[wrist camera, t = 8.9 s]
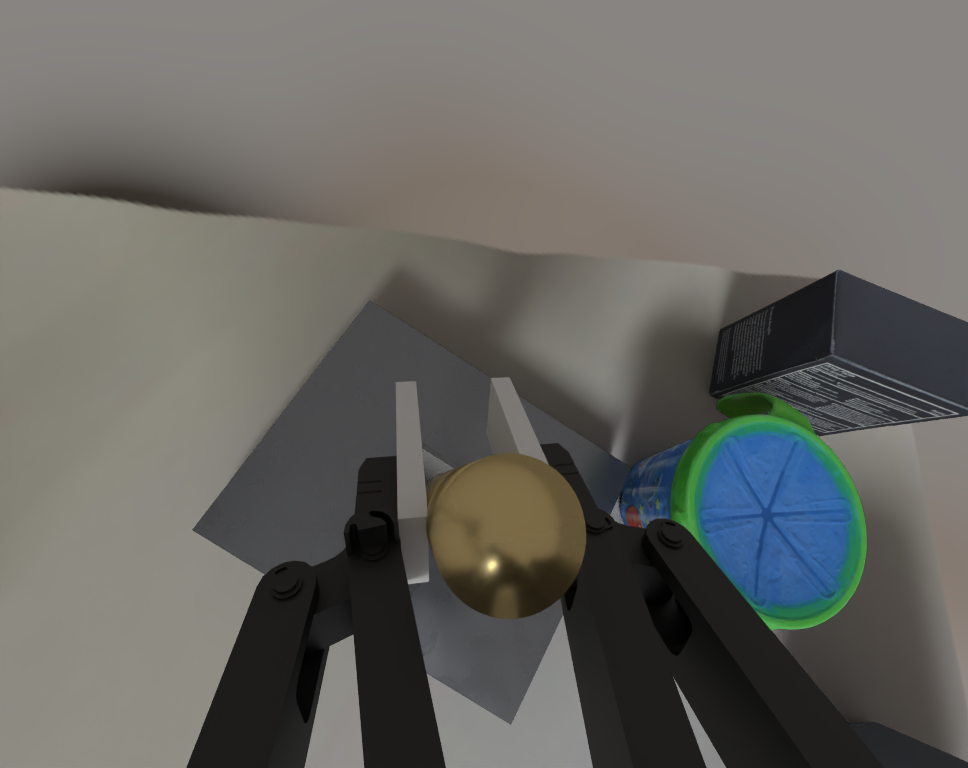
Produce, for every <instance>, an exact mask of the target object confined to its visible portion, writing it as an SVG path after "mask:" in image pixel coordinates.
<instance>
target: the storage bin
mask: <svg viewBox="0 0 968 768" xmlns="http://www.w3.org/2000/svg"><path fill="white" fill-rule="evenodd" d="M849 725H850V727H851V728H852V729H853V730H854V731H855V733H856V734H857V735H858V736H859V737H860V739H861V740H862V741H863V742H864V744H865V745H866V746H867V747H868V748H869V750H870V751H871V752H872V753H873V754H874V756H875V757H876V758H877V759H878V761H879V762H880V763H881V764H882V765H883V767H884V768H968V762H966V761H964V760H961V759H959V758H957V757H954V756H952V755H950V754H948V753H945V752H943V751H941V750H938V749H936V748H934V747H931V746H929V745H927V744H925V743H922V742H920V741H918V740H915V739H913V738H911V737H908V736H906V735H904V734H902V733H899V732H897V731H895V730H892V729H890V728H888V727H885V726H883V725H881V724H878V723H874V722H866V723H851V724H849Z"/></svg>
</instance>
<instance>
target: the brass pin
mask: <svg viewBox="0 0 968 768" xmlns="http://www.w3.org/2000/svg"><path fill="white" fill-rule="evenodd" d="M425 486H426V497H427V508H428V511H427V519H426V531H427V537H428V540H429V543H430V546H431V549H432V552H433V554H434V557H435V560H436V563H437V566H438V568H439V570H440V573H441V575H442V577H443V579H444V580H445V582H446V584H447V586H448V587H449V588H450V589H451V591H452V592H453V593H454V594H455V595H456V596H457V597H458V598H459V599H460V600H461V601H462V602H463V603H464V604H466V605H467V606H469V607H470V608H472V609H473V610H475V611H477V612H479V613H481V614H484V615H487V616H490V617H494V618H500V619H518V618H524V617H528V616H532V615H534V614H537V613H539V612H542V611H543V610H545V609H547V608H548V607H550V606H551V605H553V604H554V603H555V602H556V601H558V600H559V599H560V598H561V597H562V596H563V595H564V594H565V593H566V591H567V590H568V589H569V587H570V586H571V585H572V583H573V581H574V580H575V578H576V576H577V574H578V572H579V569H580V567H581V564H582V561H583V557H584V553H585V546H586V526H585V519H584V515H583V511H582V508H581V505H580V502H579V500H578V498H577V496H576V494H575V492H574V491H573V489H572V487H571V486H570V484H569V483H568V482H567V481H566V480H565V478H564V477H563V476H562V475H561V474H560V473H559V472H558V471H556V470H555V469H554V468H552V467H551V466H550V465H548V464H546V463H545V462H543V461H541V460H539V459H536V458H534V457H531V456H527V455H523V454H515V453H504V454H497V455H492V456H489V457H486V458H483V459H480V460H477V461H474V462H472V463H469V464H466V465H463V466H461V467H458V468H455V469H453V470H450V471H447V472H444V473H442V474H439V475H437V476H435V477H434V478H432V479H431V480H430V481H429V482H428V483H427V484H426V485H425Z"/></svg>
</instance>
